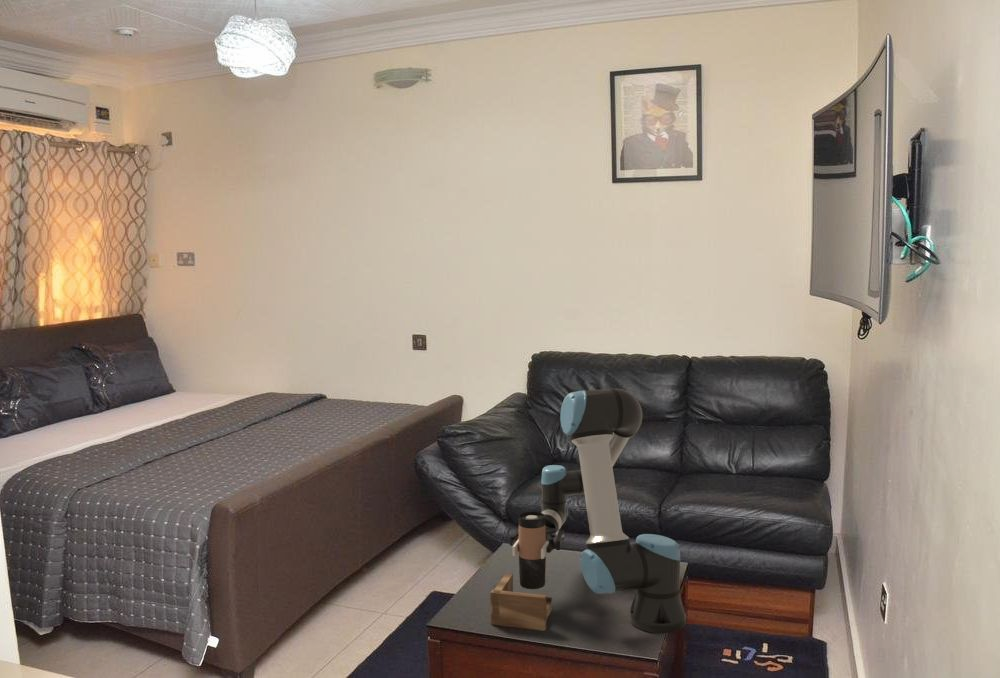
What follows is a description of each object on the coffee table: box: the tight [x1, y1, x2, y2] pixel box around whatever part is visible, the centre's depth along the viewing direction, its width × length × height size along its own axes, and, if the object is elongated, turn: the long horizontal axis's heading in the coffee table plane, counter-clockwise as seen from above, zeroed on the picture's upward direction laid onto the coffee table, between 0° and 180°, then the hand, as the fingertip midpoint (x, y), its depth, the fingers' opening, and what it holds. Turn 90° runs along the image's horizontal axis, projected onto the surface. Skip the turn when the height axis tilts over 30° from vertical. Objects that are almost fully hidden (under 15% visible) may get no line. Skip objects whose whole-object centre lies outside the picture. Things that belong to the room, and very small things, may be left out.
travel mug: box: [518, 511, 547, 590], centre depth 234 cm, size 8×8×20 cm
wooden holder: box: [489, 572, 553, 632], centre depth 230 cm, size 14×15×9 cm
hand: (527, 552), depth 230 cm, fingers closed on travel mug, 7 cm apart
